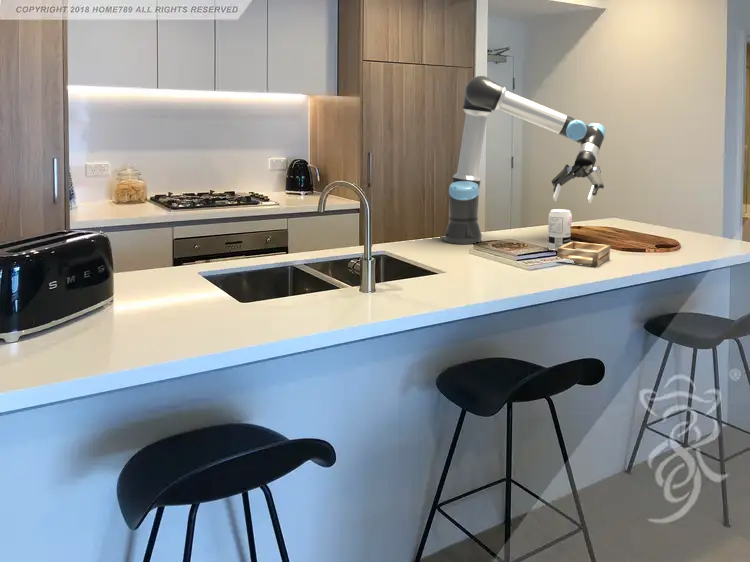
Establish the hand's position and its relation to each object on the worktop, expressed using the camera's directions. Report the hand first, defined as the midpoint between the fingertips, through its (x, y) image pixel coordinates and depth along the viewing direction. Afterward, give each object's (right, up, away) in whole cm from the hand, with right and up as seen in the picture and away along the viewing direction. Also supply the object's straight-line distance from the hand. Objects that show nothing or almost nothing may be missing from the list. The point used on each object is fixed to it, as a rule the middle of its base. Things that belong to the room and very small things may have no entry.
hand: (571, 200), depth 267 cm
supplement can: (-6, -19, -4) cm, 21 cm away
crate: (-2, -24, -22) cm, 33 cm away
